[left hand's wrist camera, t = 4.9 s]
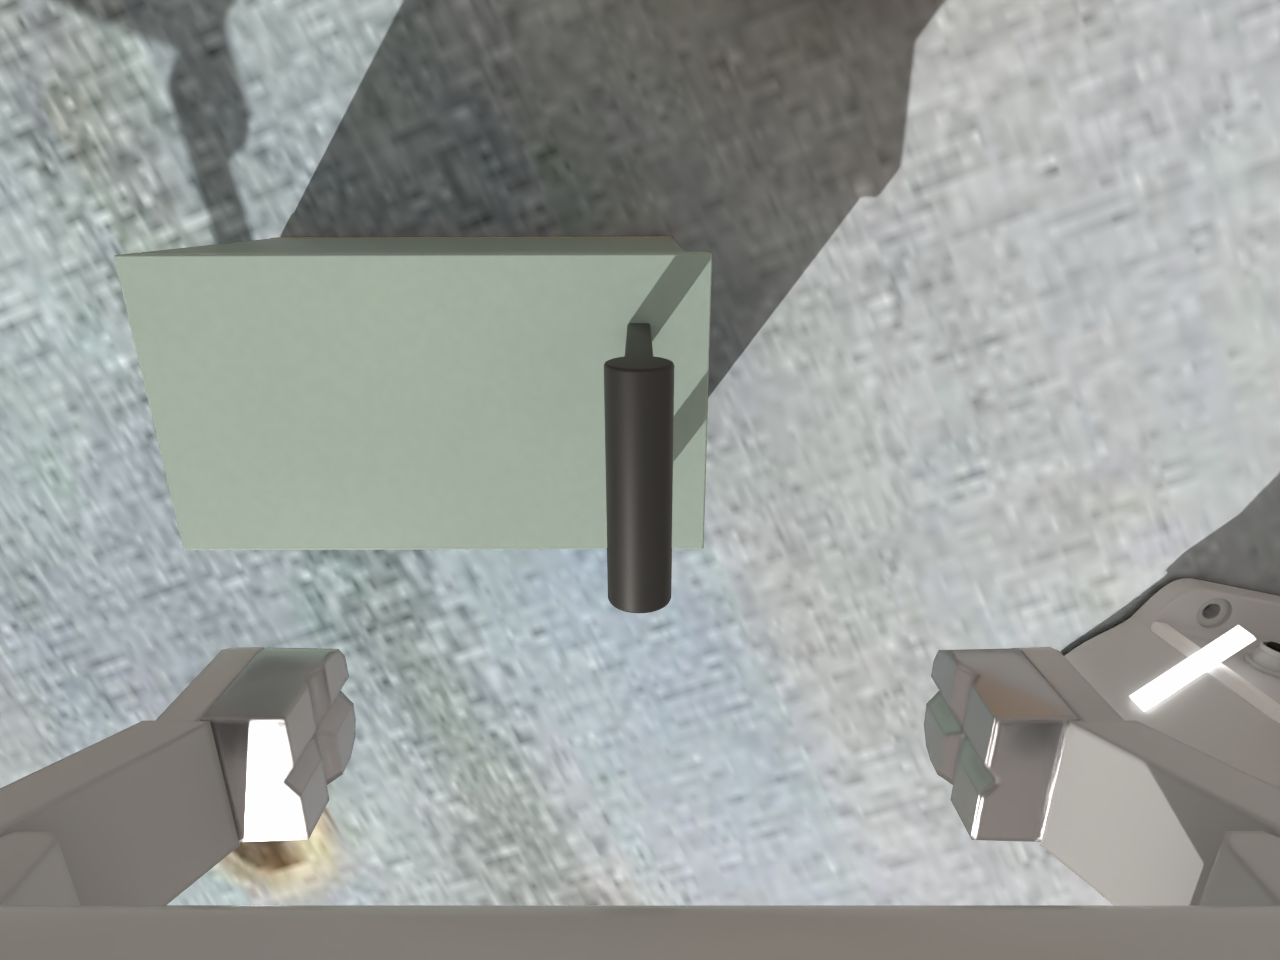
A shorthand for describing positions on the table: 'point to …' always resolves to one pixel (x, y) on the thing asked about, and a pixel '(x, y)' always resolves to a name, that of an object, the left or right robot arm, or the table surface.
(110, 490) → the table surface
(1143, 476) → the table surface
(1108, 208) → the table surface
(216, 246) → the chest
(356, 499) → the lid
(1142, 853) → the left robot arm
